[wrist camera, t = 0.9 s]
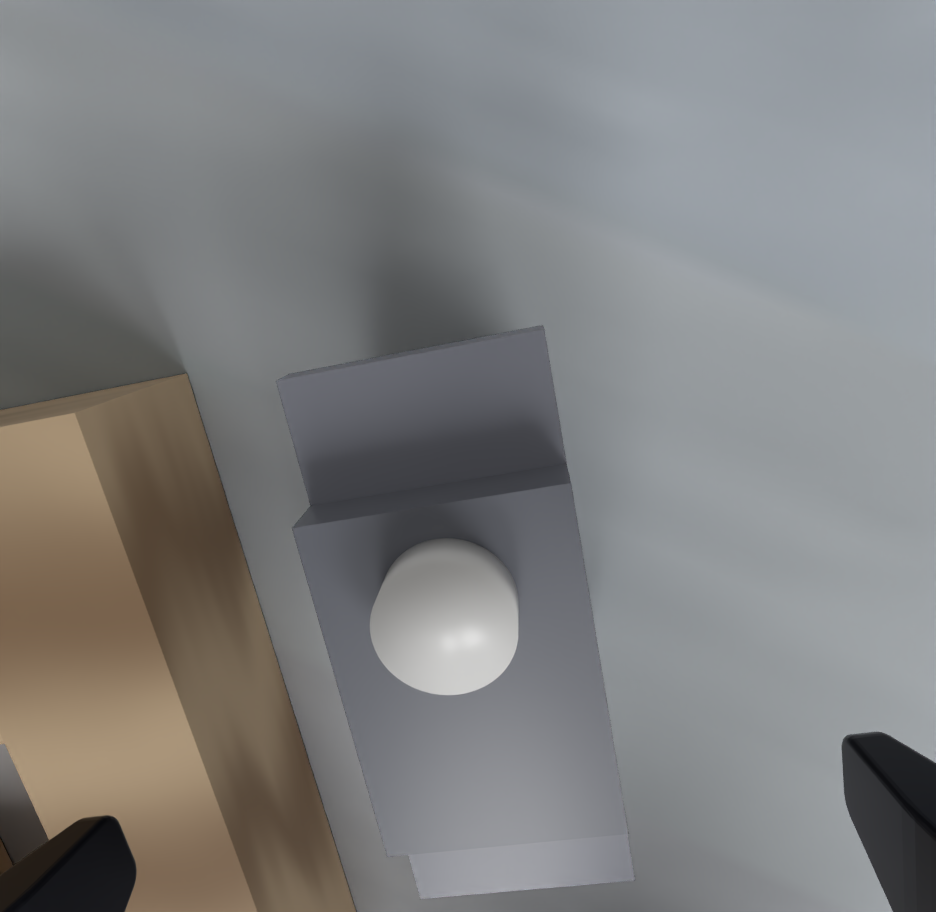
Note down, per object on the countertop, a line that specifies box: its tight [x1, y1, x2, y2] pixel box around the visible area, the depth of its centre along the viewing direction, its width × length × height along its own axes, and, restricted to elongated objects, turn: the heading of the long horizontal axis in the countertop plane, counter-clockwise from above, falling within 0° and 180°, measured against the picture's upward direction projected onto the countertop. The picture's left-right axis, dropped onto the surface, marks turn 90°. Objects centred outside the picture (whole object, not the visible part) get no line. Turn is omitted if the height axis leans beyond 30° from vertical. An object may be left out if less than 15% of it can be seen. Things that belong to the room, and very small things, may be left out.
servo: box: [276, 325, 635, 899], centre depth 13 cm, size 10×4×7 cm, turn 11°
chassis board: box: [0, 373, 356, 912], centre depth 17 cm, size 20×14×4 cm
